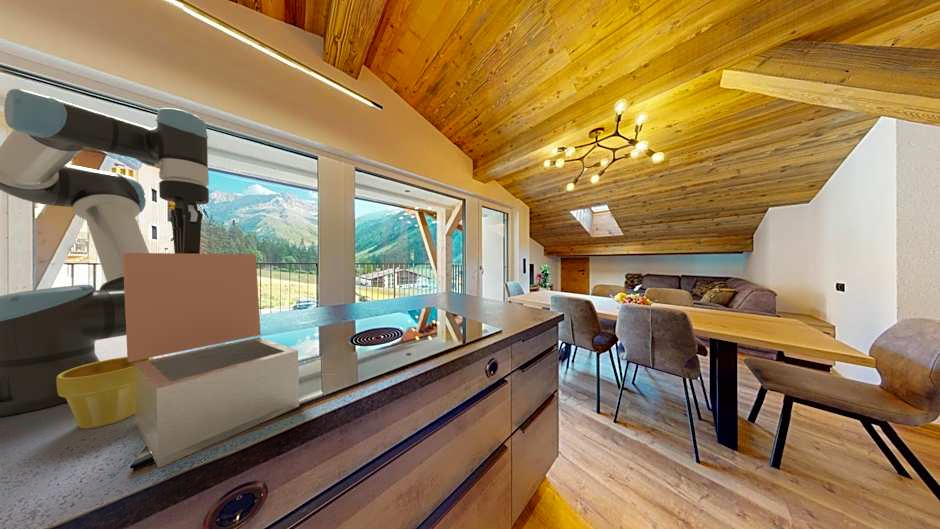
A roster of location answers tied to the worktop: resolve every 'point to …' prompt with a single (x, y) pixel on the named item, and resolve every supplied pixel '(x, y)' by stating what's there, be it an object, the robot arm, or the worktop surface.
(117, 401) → the plant pot
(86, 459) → the worktop surface
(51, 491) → the worktop surface
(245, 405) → the box body
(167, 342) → the lid
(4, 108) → the robot arm
